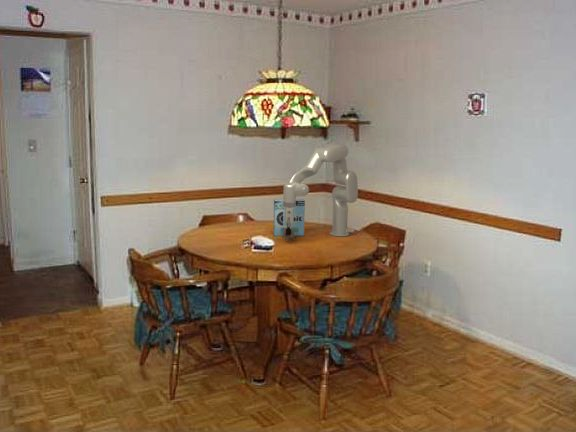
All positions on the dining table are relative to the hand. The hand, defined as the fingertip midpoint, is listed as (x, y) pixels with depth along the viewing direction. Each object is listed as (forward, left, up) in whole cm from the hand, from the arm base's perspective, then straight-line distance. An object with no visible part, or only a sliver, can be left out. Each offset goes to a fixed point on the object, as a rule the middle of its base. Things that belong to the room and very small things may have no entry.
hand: (288, 234), depth 350 cm
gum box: (0, -23, -6) cm, 24 cm away
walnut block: (0, -13, -5) cm, 14 cm away
